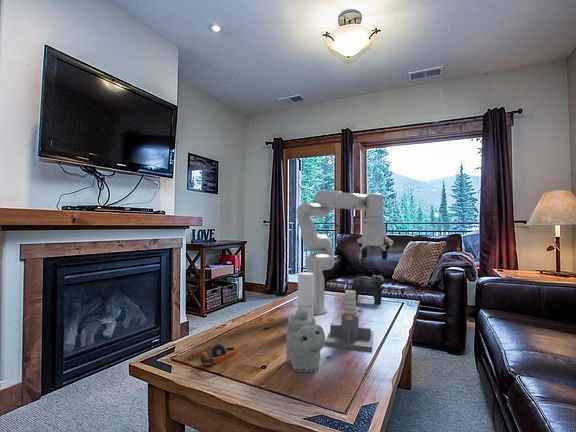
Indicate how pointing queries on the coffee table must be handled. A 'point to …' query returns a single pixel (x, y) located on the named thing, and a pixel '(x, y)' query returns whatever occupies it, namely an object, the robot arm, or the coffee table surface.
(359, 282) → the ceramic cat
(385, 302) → the coffee table surface
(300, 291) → the cylindrical container
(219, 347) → the headphones
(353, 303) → the steel post
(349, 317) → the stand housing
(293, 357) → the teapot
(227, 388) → the coffee table surface
